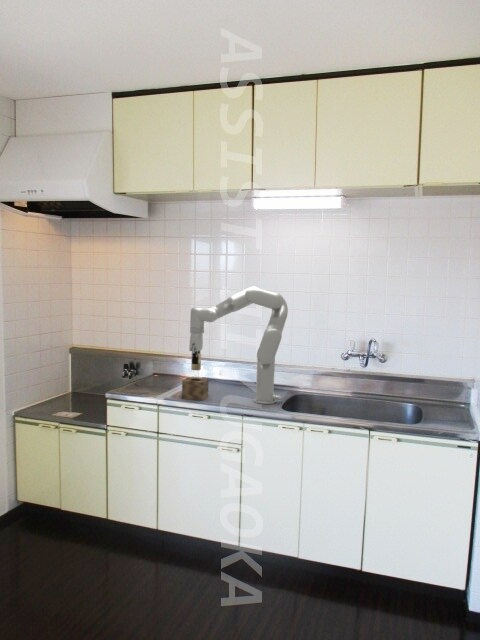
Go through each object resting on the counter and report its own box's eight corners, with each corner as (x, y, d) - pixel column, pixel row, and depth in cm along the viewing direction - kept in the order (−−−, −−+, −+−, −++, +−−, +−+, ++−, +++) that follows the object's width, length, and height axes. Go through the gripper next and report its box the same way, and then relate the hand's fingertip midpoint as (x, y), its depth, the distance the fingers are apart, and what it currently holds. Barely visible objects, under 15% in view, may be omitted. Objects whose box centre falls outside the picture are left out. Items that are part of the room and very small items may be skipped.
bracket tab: (200, 369, 286) (201, 353, 285) (198, 370, 283) (199, 354, 282) (193, 368, 287) (193, 352, 286) (191, 369, 284) (191, 353, 283)
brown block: (208, 396, 290) (208, 378, 289) (202, 400, 280) (203, 382, 279) (187, 394, 293) (188, 377, 292) (181, 398, 283) (182, 380, 282)
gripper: (195, 328, 291) (194, 360, 293) (185, 331, 276) (184, 365, 277) (207, 329, 290) (206, 361, 292) (199, 332, 274) (198, 366, 276)
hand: (196, 363), depth 284 cm, fingers closed on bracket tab, 3 cm apart
